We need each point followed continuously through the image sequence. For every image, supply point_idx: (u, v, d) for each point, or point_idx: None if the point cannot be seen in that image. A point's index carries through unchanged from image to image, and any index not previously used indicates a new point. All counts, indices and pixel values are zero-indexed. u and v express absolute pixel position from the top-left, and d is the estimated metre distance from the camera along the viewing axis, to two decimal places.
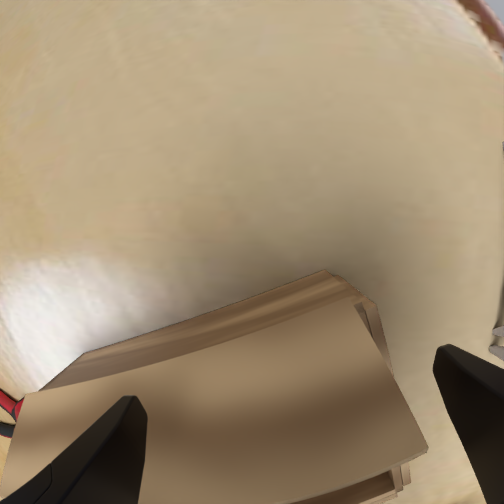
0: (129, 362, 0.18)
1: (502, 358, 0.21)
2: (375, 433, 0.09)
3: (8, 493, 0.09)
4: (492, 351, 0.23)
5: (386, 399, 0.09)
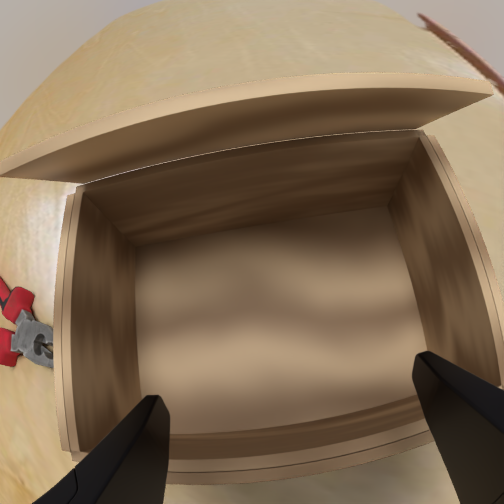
0: None
1: None
2: None
3: None
4: None
5: None
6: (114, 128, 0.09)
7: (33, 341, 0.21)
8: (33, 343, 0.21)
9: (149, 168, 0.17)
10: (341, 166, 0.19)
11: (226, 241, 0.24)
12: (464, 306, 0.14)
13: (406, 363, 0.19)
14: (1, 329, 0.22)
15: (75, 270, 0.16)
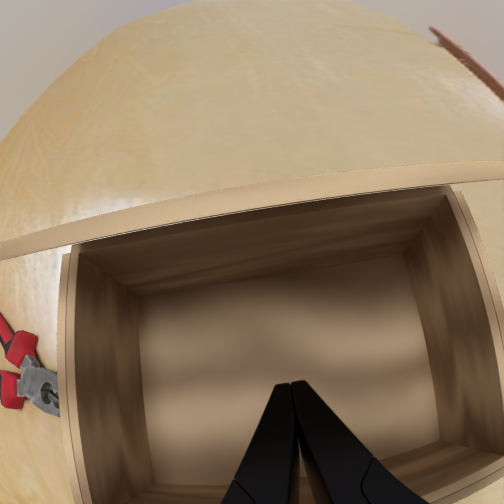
0: None
1: None
2: None
3: None
4: None
5: None
6: (106, 234, 0.08)
7: (40, 389, 0.20)
8: (40, 391, 0.20)
9: (150, 231, 0.16)
10: (360, 225, 0.18)
11: (234, 294, 0.23)
12: (478, 376, 0.13)
13: (414, 417, 0.18)
14: (5, 373, 0.20)
15: (77, 343, 0.14)
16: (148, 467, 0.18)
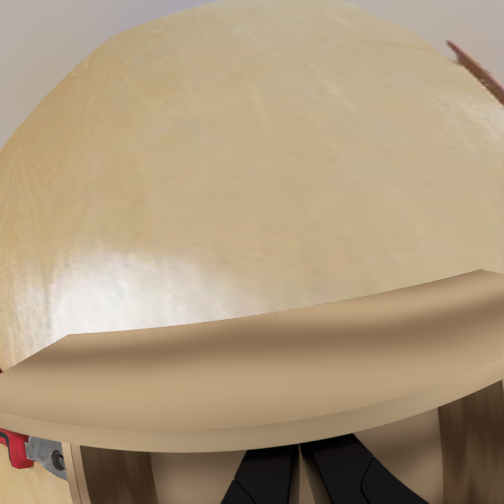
0: None
1: None
2: None
3: None
4: None
5: None
6: (101, 446, 0.05)
7: (50, 455, 0.17)
8: (51, 457, 0.17)
9: None
10: None
11: None
12: (486, 468, 0.10)
13: (421, 487, 0.15)
14: (12, 436, 0.18)
15: (83, 453, 0.12)
16: None
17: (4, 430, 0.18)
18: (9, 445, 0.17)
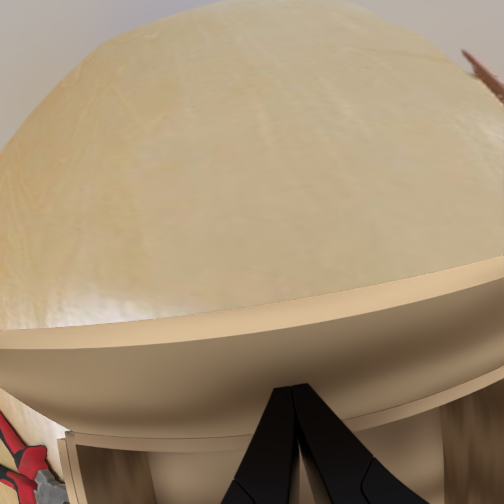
0: None
1: None
2: None
3: None
4: None
5: None
6: (78, 346, 0.06)
7: None
8: None
9: (157, 442, 0.11)
10: None
11: None
12: None
13: None
14: (21, 484, 0.16)
15: None
16: None
17: (11, 475, 0.16)
18: (18, 492, 0.15)
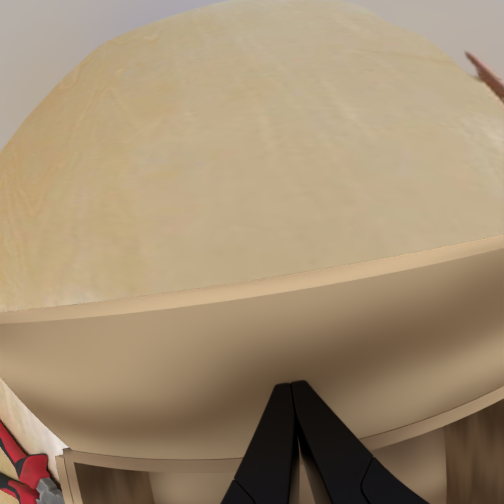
0: None
1: None
2: None
3: None
4: None
5: None
6: (93, 315, 0.07)
7: None
8: None
9: (157, 462, 0.11)
10: None
11: None
12: None
13: None
14: (22, 493, 0.15)
15: None
16: None
17: (13, 484, 0.16)
18: (20, 501, 0.14)
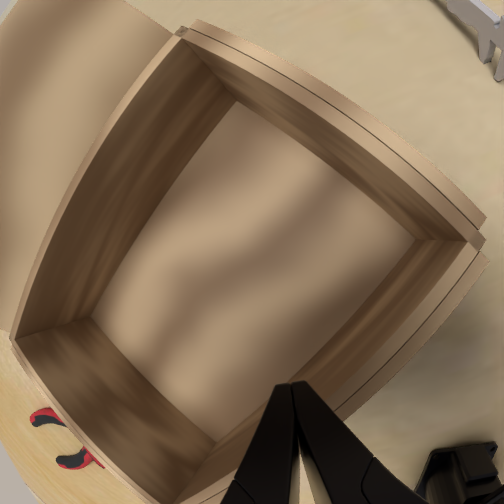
0: None
1: None
2: None
3: None
4: (499, 77, 0.15)
5: None
6: None
7: None
8: None
9: (26, 287, 0.15)
10: (144, 131, 0.15)
11: (137, 256, 0.23)
12: (367, 167, 0.12)
13: (368, 236, 0.18)
14: None
15: (58, 397, 0.16)
16: (198, 435, 0.21)
17: (83, 447, 0.25)
18: (88, 453, 0.24)
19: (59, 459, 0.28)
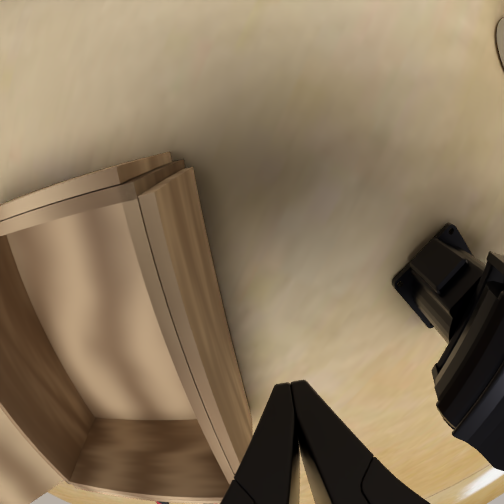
0: None
1: None
2: None
3: None
4: None
5: None
6: None
7: None
8: None
9: (36, 450, 0.17)
10: None
11: (67, 361, 0.23)
12: None
13: None
14: None
15: (117, 488, 0.18)
16: None
17: None
18: None
19: None
